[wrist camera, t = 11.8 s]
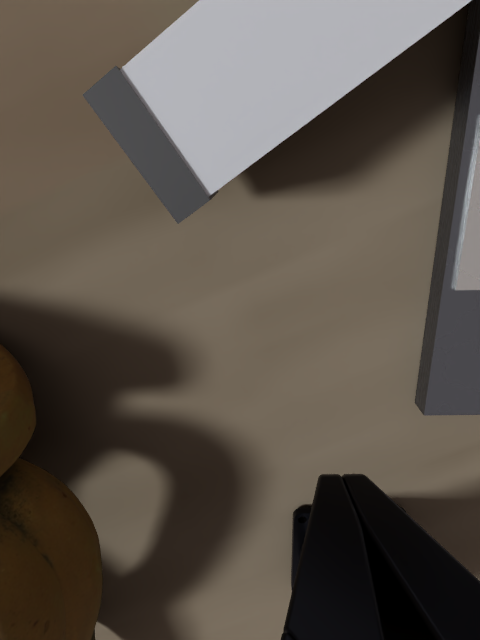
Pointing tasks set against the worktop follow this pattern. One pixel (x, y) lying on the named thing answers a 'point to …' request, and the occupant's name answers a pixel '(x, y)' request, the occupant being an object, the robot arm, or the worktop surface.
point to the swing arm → (246, 83)
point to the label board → (457, 257)
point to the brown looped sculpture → (41, 534)
